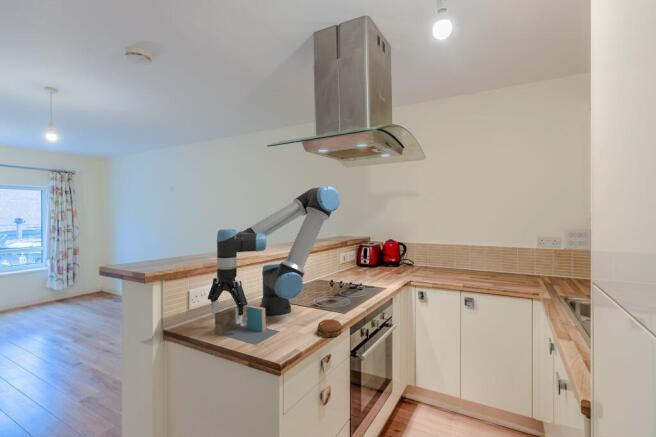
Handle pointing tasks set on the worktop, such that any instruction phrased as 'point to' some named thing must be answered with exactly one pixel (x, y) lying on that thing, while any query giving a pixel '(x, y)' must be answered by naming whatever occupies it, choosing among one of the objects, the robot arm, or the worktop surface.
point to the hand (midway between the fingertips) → (226, 320)
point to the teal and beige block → (256, 318)
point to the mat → (250, 335)
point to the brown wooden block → (227, 321)
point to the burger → (329, 328)
